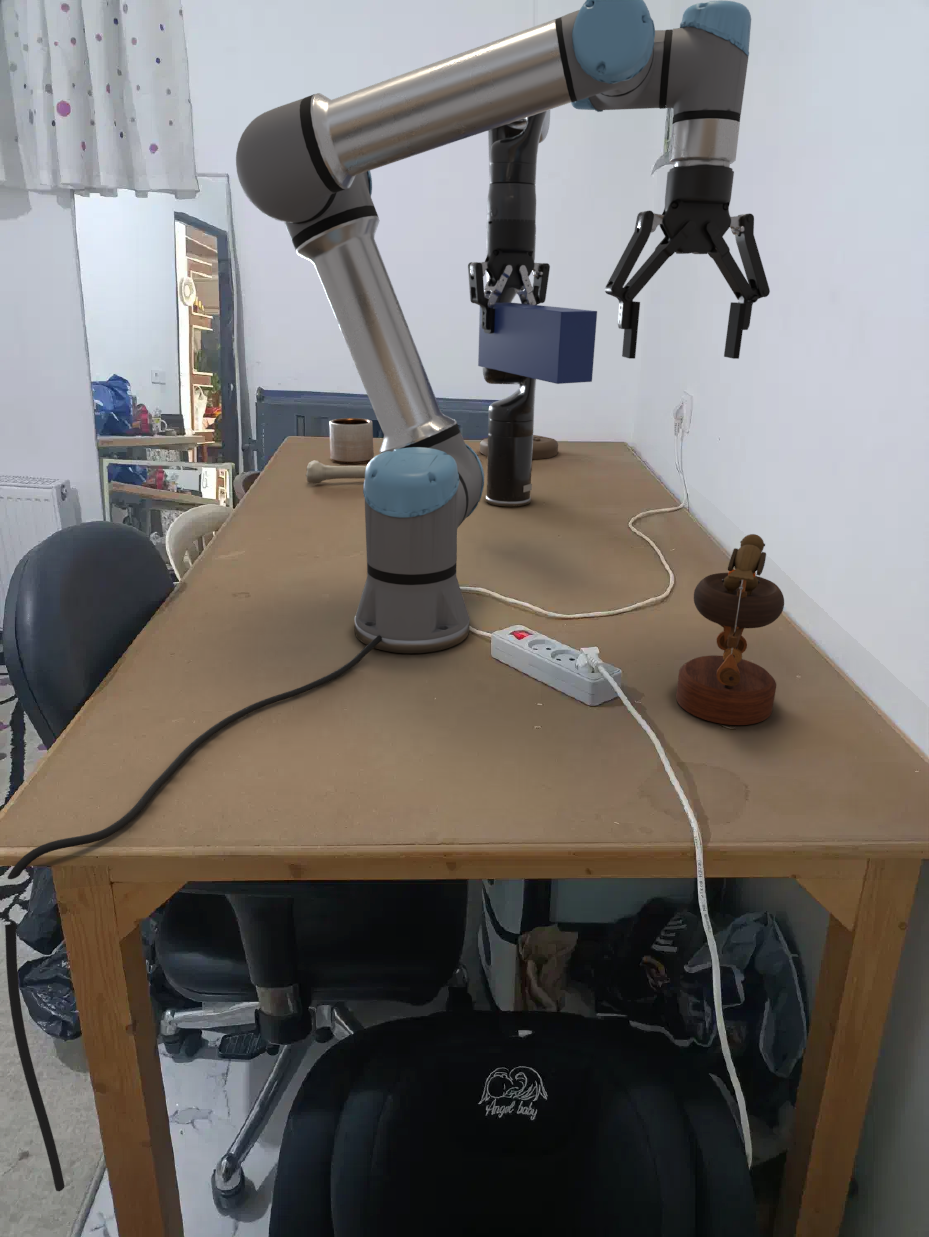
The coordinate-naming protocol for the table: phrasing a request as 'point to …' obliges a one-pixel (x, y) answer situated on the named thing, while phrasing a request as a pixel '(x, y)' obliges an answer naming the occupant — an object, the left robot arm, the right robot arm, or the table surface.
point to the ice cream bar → (541, 447)
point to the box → (540, 342)
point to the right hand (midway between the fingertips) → (507, 332)
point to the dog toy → (332, 472)
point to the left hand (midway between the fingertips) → (680, 358)
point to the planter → (351, 440)
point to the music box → (733, 642)
